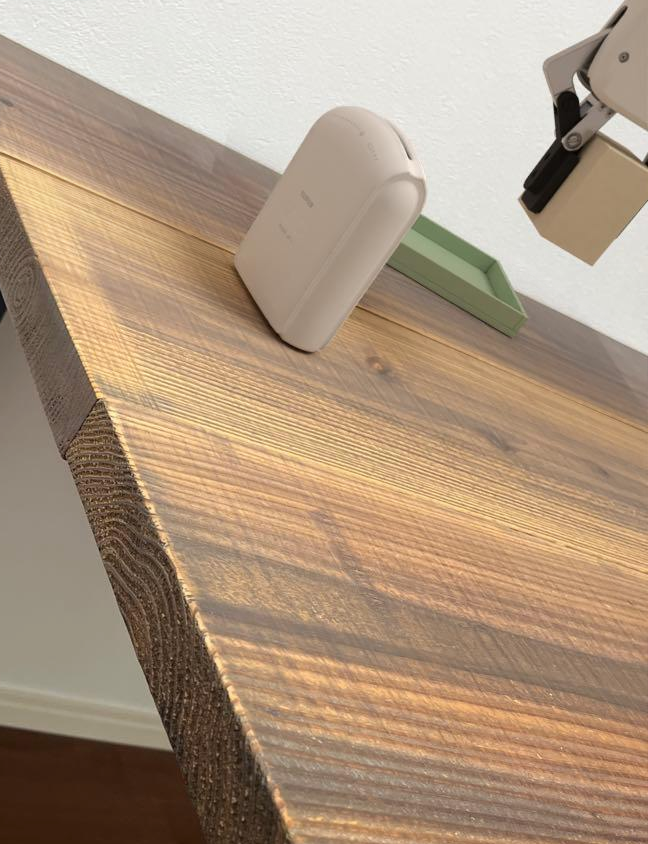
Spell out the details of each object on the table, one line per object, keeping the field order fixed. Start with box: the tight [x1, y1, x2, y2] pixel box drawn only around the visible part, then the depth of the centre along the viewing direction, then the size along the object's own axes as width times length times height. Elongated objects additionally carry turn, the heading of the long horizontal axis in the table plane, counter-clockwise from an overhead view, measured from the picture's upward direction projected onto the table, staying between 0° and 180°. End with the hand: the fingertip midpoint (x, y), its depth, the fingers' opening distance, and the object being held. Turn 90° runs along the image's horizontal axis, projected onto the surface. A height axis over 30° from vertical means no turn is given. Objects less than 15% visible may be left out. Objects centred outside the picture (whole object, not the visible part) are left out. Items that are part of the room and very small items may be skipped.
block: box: [517, 129, 648, 267], centre depth 66 cm, size 4×8×6 cm, turn 170°
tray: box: [385, 212, 530, 339], centre depth 93 cm, size 14×15×2 cm
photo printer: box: [233, 105, 428, 353], centre depth 61 cm, size 10×4×12 cm, turn 13°
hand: (560, 222), depth 67 cm, fingers closed on block, 4 cm apart
